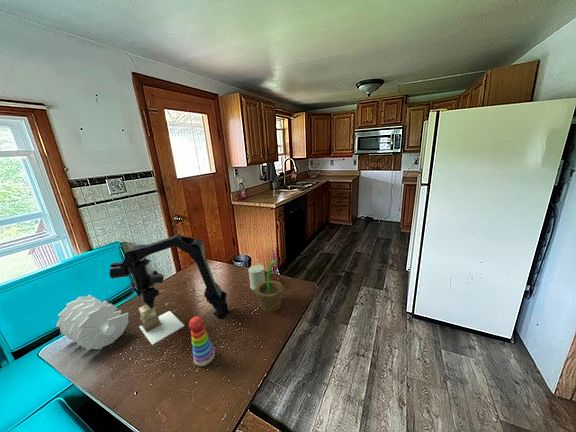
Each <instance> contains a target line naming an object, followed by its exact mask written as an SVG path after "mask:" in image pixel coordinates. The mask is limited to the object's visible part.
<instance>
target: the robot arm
mask: <svg viewBox="0 0 576 432" xmlns="http://www.w3.org/2000/svg"><path fill="white" fill-rule="evenodd" d="M173 247H176V248H178V249H179V250H181V251H183V252H185V253H186V254H188V255H189V257H190V258H191V260H193V261H194V262H195V263H196V267H197V268H198V271H199V273H200V275H201V278H202V280H203V283H204V286H205V290H204V294H203V295H204V297H205V299H206V302H208V304H209V305H212V307H213V308H214V309H215V312H213V315H214V317H216V318H217V319H219V320H222V319H223V318H225V317H227V316H229V315H230V314H231V313H232V310H230V309H229V307H228V301H227V295H228V293H226V291H224V290H222V289H221V286H220V285H219V283H217V282H216V281H215V279H214V276H213V274H212V271H211V268H210V266H209V263H208V261H207V259H206V250H205V245H204V242H203V240H201V239H196V238H193V237H189V236H184V235H181V234H175V235H172V236H169V237H168V238H164V239H162V240H158V241H156V242H152V243H149V244H138V245H134V246H132V247H131V248H129V249H128V250H127V251H126V252H125V253H124V259H123V261H121V262H120V261H119V262H118V261H117V262H112V263H111V264H110V268H109V277H110V278H111V279H112V280H113V279H119V278H120V279H121V278H126V277H129V276H130V275H132V276H131V279H132V281H131V282H130V283H129V284H130V288H132V291H133V292H135V294H136V295H137V296H139V298H141V300H142V302H143V303H145V305H148V306H149V307H150V308H151V309H152V308H155V299H156V297H157V296H159V295H160V291H159V289H157V288H156V287H154V284H163V283H164V277H165V275H164V274H162V273H160V272H158V271H157V270H152V271H151V272H150V274H149V272H148V268H147V265H148V264H150V262H151V260H150V259H148V258H146V257H148V256H150V255H153V254H155V253H158V252H161V251H164V250H167V249H169V248H170V249H171V248H173Z"/></svg>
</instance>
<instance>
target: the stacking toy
mask: <svg viewBox="0 0 576 432" xmlns="http://www.w3.org/2000/svg"><path fill="white" fill-rule="evenodd" d="M188 328H189V329H190V334H191V345H192V347H191V348H192V357H193V358H192V360H193V363H194V365H195V366H198V367H204V366H206V365H208V364H210V363H211V362H212V361H213V360H214V358H215V355H216V351H215V349H214V346H213V344H212V341H211V339H210V337H209V335H208V333H207V330H206V326H204V319H203V318H202V317H201V316H200V315H199V316H198V315H197V316H194V317H192V318H191V319H190V320H189V322H188Z"/></svg>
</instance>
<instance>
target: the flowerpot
mask: <svg viewBox="0 0 576 432" xmlns="http://www.w3.org/2000/svg"><path fill="white" fill-rule="evenodd" d="M275 255H276V254H275V251H274V250H272V257H273V259H272V262H271V263H270V264H269V267H268V270H267V275H266V278H267V279H266V280H265V282H261V283H260V284H258V285H257V286H256V288H255V290H254V293H255V296H256V298H257V299H258V302H259V305H260V308H261V310H262V311H263V312H267V313H273V312H276V311H278V310H279V309H280V308H281V306H282V305H281V303H282V295H283V293H284V285H283V284H282V283H281V282H280V281H278V280H271V279H270V276H271V272H272V267H273V268H274V273H275V276H277V262H276V256H275Z"/></svg>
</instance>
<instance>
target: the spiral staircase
mask: <svg viewBox="0 0 576 432" xmlns="http://www.w3.org/2000/svg"><path fill="white" fill-rule="evenodd" d="M57 316H58V317H59V318H58V321H57V324H56V326H55V327H57V328H59V330H60V335H61V336H63V335H64V336H66V337H67V338H68V340H69V341H71V340H72V342H73V343H77V345H78V346H81V349H82V348H85V349H86V350H87V351H90V350H102V348H103V347H106V346H109V345H110V344H113V343H115V341H116V340H117V339H118V338H120V336H122V335H123V334H124V333H125V332H124V331H126V328H127V326H128V325H129V322H130V321H129V312H126V313H123V314H122V310H118V307H116V306H115V305H114V304H112V303H109V302H107V300H104V301H101V300H100V299H98V298H96V297H94V296H93V295H91V294H88V295H87V296H78V297H77V298H76V299H75V300H73V301H70V302H68V303H66V307H65V308H64V309H63V310H62V311H61V312H59V313H58V314H57Z"/></svg>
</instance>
